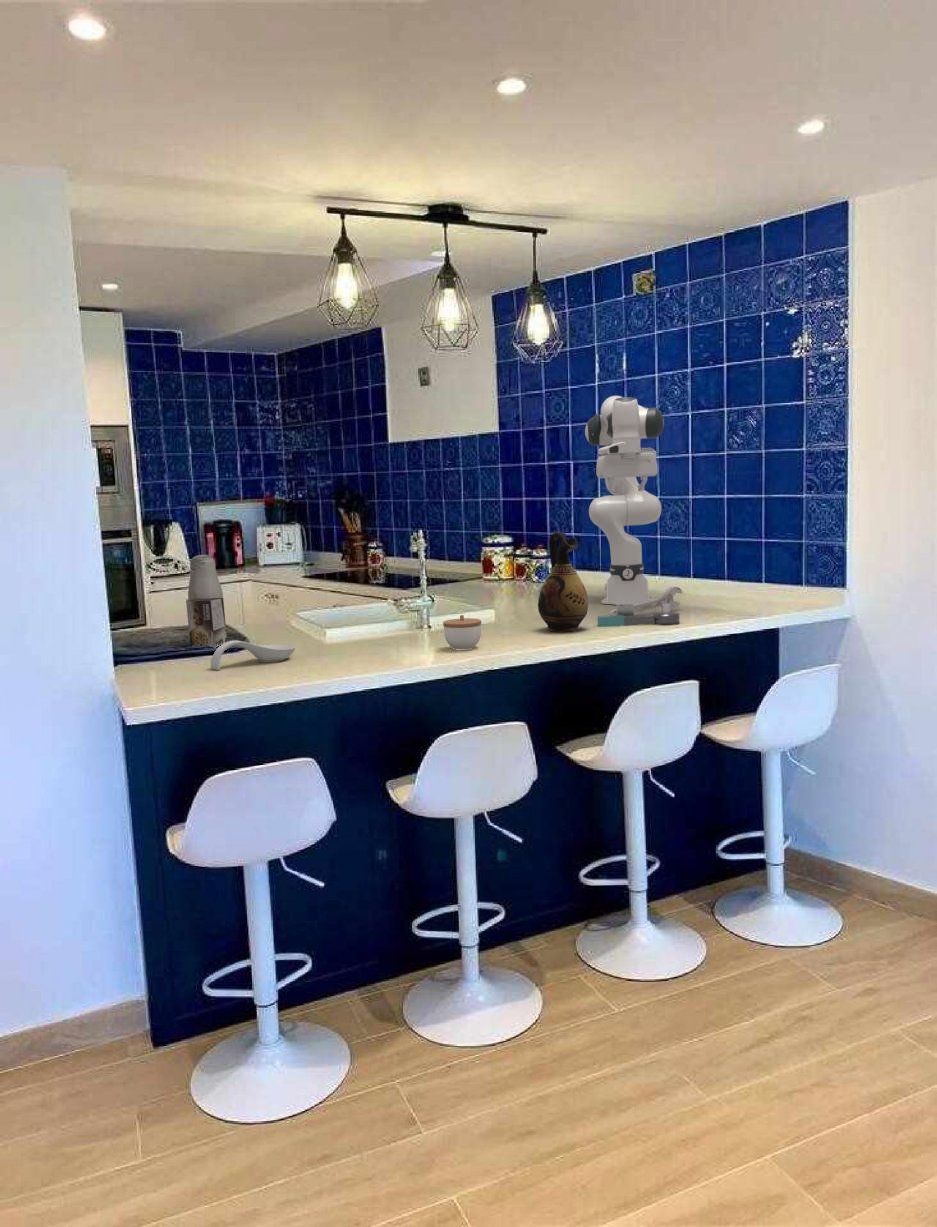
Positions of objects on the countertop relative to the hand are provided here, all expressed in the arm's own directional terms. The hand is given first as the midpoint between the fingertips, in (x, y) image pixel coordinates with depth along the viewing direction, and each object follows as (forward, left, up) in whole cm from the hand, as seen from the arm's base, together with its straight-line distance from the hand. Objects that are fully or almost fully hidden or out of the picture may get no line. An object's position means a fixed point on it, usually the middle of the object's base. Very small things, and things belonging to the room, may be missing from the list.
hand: (627, 491), depth 310 cm
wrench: (-3, +5, -41) cm, 42 cm away
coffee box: (+44, -127, -41) cm, 140 cm away
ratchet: (+18, +1, -41) cm, 44 cm away
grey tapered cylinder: (+27, -133, -41) cm, 142 cm away
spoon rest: (+64, -107, -41) cm, 131 cm away
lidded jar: (+51, -51, -41) cm, 83 cm away
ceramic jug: (+23, -23, -41) cm, 52 cm away
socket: (+10, -3, -41) cm, 42 cm away
